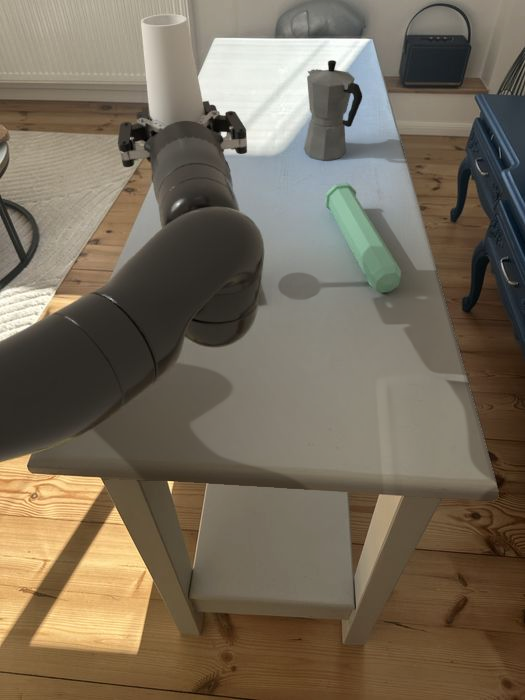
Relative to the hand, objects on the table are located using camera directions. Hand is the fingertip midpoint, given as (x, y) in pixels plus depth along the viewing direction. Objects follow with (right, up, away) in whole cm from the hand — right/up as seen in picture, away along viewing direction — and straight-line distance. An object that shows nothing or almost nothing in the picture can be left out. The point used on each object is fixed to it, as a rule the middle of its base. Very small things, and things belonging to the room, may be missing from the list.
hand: (176, 112), depth 59 cm
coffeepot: (+25, +14, +48) cm, 56 cm away
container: (+27, -12, +24) cm, 38 cm away
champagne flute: (+1, -11, +9) cm, 14 cm away
